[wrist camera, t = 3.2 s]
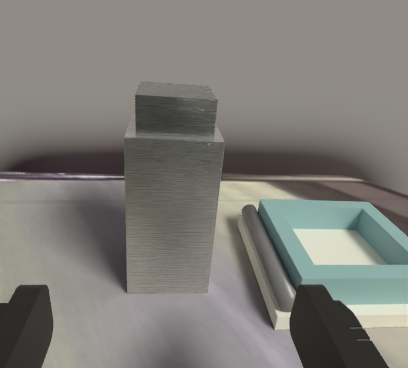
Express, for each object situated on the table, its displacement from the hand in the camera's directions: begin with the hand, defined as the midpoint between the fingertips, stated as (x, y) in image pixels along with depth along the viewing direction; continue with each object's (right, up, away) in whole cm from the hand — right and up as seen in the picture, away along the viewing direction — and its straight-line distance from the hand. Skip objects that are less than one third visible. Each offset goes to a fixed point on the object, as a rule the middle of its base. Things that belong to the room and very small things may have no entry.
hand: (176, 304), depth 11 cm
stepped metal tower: (-2, -2, +12) cm, 13 cm away
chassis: (+10, -2, +14) cm, 17 cm away
